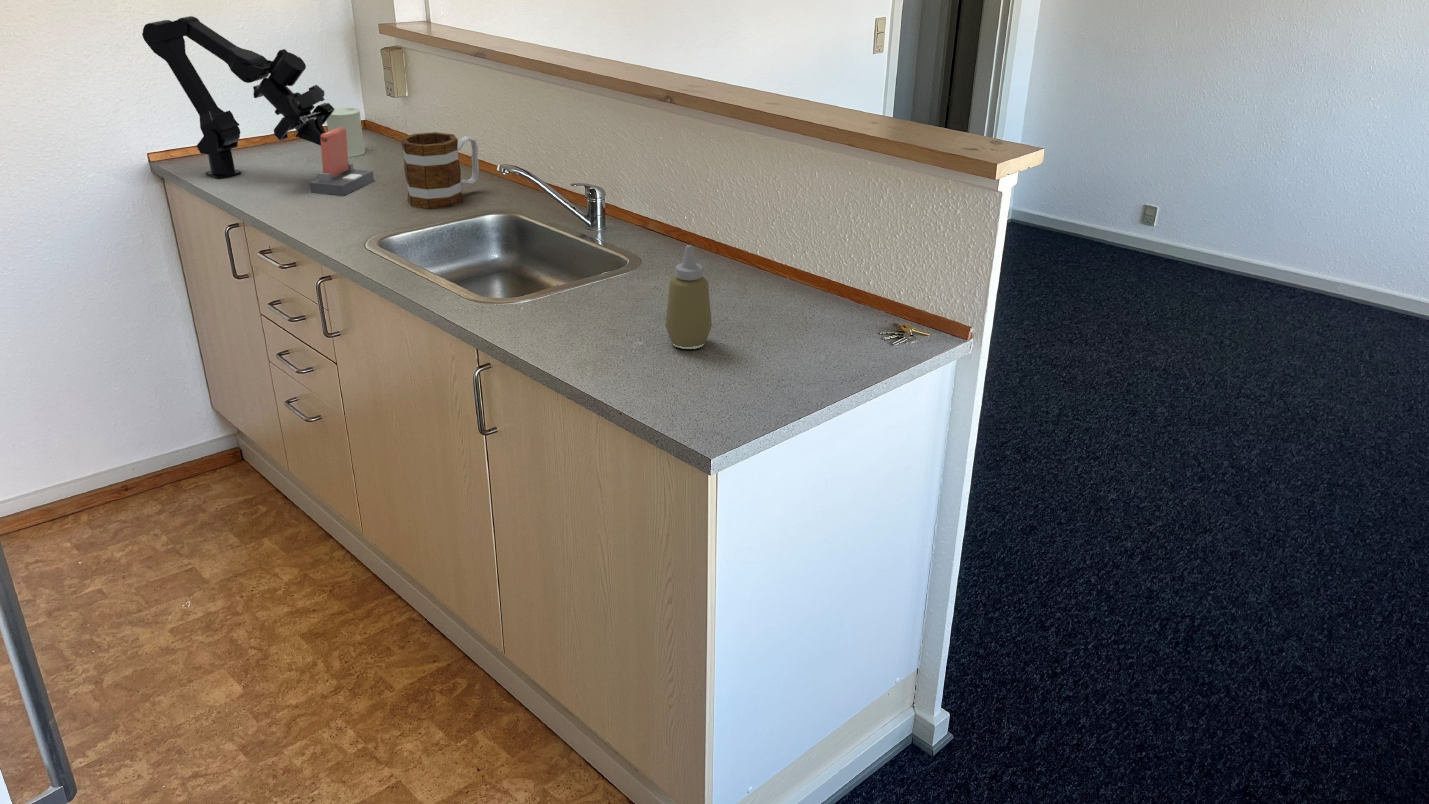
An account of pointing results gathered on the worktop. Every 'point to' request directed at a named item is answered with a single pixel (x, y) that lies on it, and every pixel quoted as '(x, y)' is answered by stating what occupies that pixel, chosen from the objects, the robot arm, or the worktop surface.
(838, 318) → the worktop surface
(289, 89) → the robot arm
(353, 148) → the can
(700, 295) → the squeeze bottle
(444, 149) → the mug
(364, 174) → the grey holder stand
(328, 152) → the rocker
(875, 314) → the worktop surface
